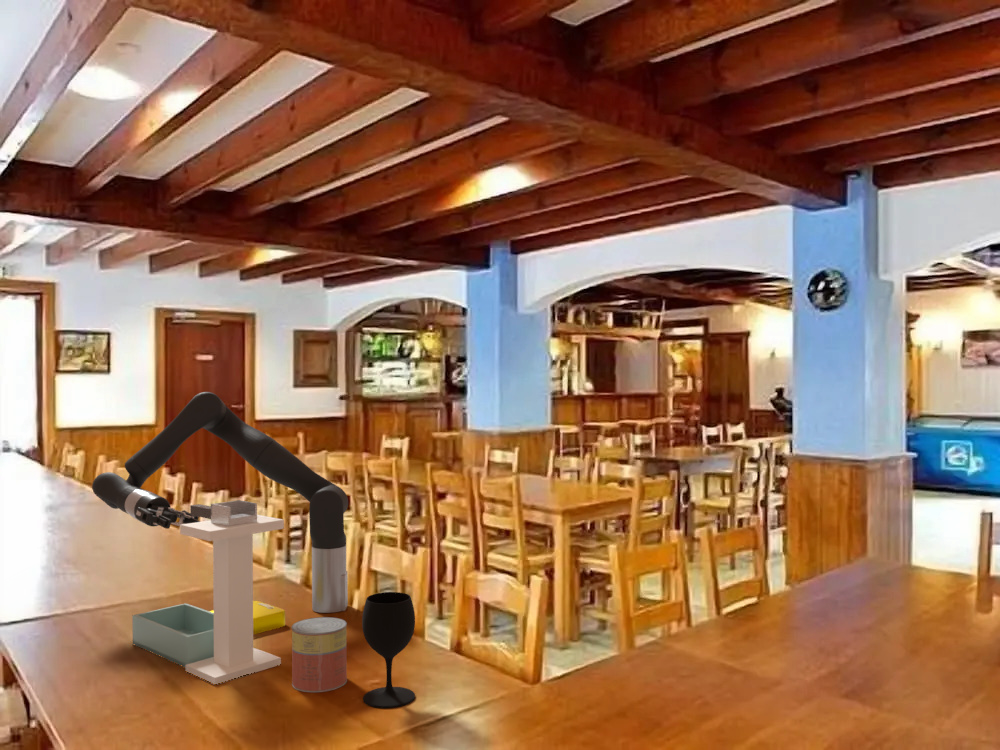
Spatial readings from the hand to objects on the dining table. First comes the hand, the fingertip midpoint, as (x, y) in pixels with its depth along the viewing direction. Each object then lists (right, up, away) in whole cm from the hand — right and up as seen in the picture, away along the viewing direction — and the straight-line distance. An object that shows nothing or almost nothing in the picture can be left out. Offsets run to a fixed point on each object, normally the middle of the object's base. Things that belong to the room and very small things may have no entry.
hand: (184, 525), depth 204 cm
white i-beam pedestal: (+18, -28, -19) cm, 38 cm away
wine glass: (+54, -28, -37) cm, 71 cm away
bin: (+3, -28, -6) cm, 29 cm away
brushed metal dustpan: (+13, +4, -15) cm, 21 cm away
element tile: (+11, -28, +12) cm, 33 cm away
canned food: (+38, -28, -28) cm, 55 cm away
